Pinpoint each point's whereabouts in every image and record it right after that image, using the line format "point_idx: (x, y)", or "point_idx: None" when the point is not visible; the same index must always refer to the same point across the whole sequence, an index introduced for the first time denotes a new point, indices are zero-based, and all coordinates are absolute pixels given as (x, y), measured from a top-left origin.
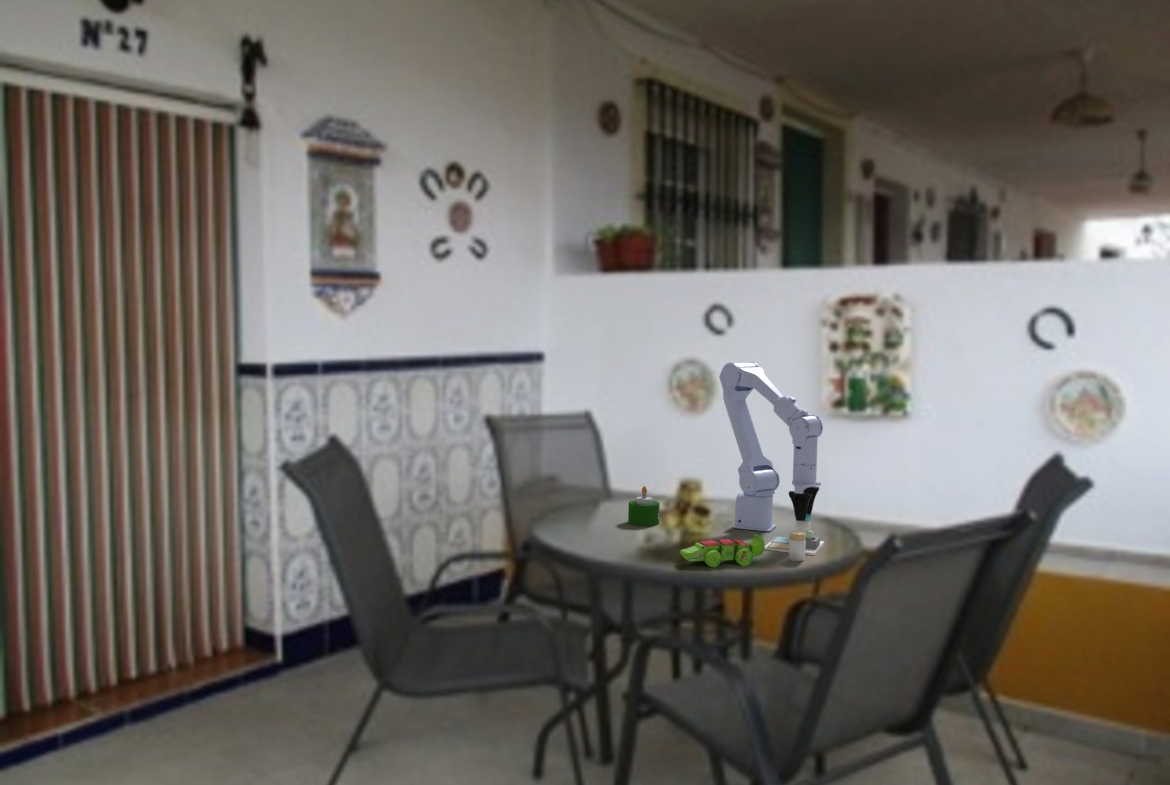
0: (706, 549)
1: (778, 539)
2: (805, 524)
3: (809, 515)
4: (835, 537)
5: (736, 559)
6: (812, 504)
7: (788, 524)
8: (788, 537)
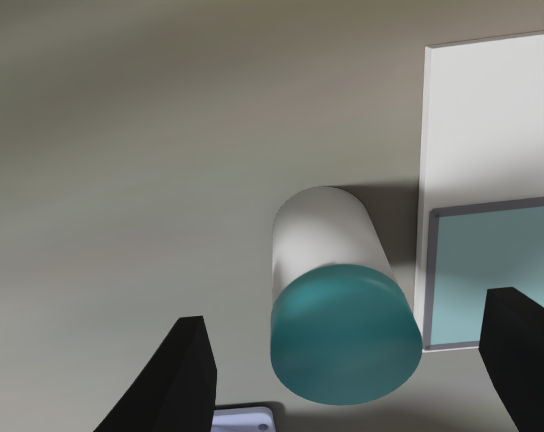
0: None
1: None
2: (391, 269)
3: (340, 306)
4: (132, 36)
5: None
6: (166, 400)
7: (3, 388)
8: (430, 292)
